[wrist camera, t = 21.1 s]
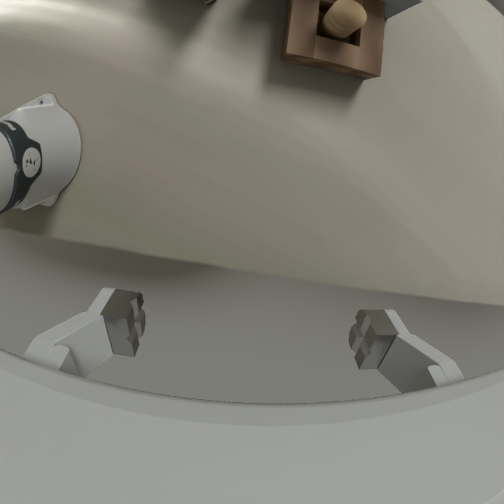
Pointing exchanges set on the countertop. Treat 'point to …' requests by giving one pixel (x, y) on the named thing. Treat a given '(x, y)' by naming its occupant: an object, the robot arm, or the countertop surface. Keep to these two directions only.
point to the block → (332, 51)
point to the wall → (398, 6)
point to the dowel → (341, 20)
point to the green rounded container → (208, 2)
